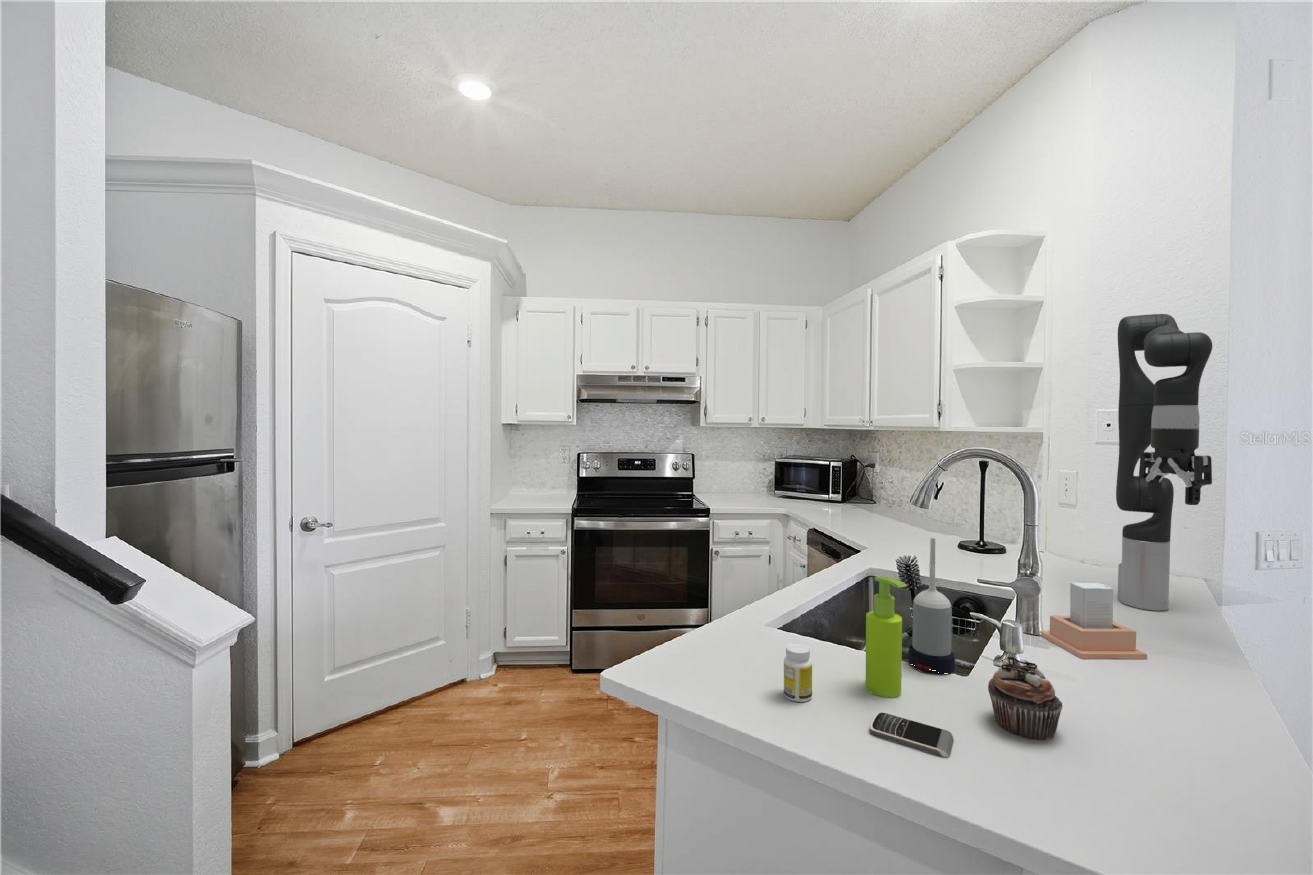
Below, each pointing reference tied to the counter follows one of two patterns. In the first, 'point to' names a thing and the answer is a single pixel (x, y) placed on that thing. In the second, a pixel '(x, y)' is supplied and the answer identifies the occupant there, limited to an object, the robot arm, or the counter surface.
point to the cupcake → (1024, 700)
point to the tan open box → (1093, 640)
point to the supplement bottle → (798, 673)
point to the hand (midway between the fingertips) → (1172, 501)
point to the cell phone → (912, 734)
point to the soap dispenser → (884, 642)
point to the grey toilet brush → (932, 628)
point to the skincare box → (1091, 605)
